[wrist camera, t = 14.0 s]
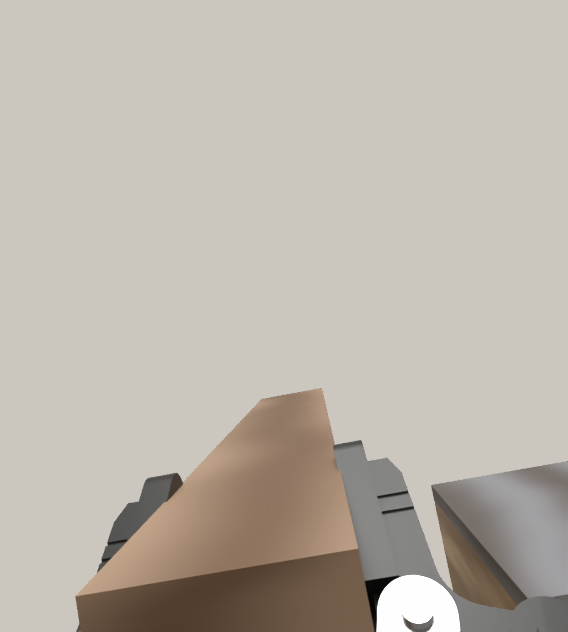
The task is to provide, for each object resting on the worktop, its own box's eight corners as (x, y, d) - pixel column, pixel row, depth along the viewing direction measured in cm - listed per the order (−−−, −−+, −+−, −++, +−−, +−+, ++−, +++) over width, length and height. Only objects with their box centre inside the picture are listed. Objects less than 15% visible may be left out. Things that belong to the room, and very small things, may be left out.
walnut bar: (121, 904, 6) (75, 596, 7) (272, 460, 30) (261, 399, 30) (419, 862, 6) (358, 548, 6) (333, 449, 30) (321, 387, 30)
